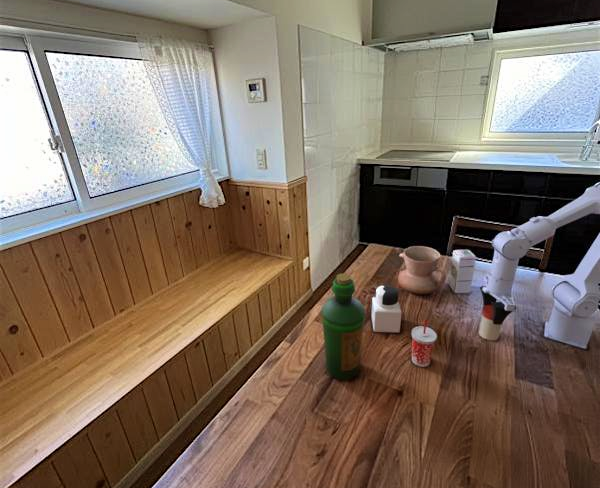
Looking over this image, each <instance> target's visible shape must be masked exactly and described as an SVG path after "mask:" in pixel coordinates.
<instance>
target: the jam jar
mask: <svg viewBox="0 0 600 488" xmlns="http://www.w3.org/2000/svg"><path fill="white" fill-rule="evenodd" d="M502 325H503V323H502V324H501V325H495V324H493V321H492V320H489V319H487V318H485V317H484V316H483V315H482V314H481V319H480V323H479V328H478V335H479V336H480V337H481V338H482V339H485V340H487V341H497V340H498V339H499V337H500V334H501V330H502Z"/></svg>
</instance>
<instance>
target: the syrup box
mask: <svg viewBox="0 0 600 488" xmlns="http://www.w3.org/2000/svg"><path fill="white" fill-rule="evenodd" d="M476 259H477V256H476V255H475V254H474V253H473V252H472V250H470V249H455V250H454V249H453V251H452V258H451V264H450V271H449V279H448V287H449V288H450V289H451V290H452V292H453V293H454V294H471V291H472V290H471V289H472V286H473V285H472V283H473V279H474V272H475V266H476V261H477V260H476Z"/></svg>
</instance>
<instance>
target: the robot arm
mask: <svg viewBox="0 0 600 488" xmlns="http://www.w3.org/2000/svg"><path fill="white" fill-rule="evenodd" d="M591 214H596V215H600V181H599V182H597V183H595V184H594V185H592V186H590V187H588V188H586V190H585V191H584V193H583V194H582V195H580V196H579V197H578V198H576V199H574V200H572V201H571V202H569V203H567V204H566V205H564V206H562V207H561V208H559V209H558V210H556V211H555V212H553V213H551V214H549V215H548V216H540V215H538V216H536V217H535V216H533V217H530V219H529V221H527V222H525V223H523V224H521V225H519V226H517V227H516V228H512V229H511V230H510V231H509V230H507V231H501V232H499V233H498V234H497V235H495V237H494V238H493V239H491V246H492V247H493V248H494V251H493V257H492V262H491V267H490V272H489V275H484V276H483V280H482V282H483V284H485V285H481V286H480V287H479V290H480V292H481V296H482V303H483V304H482V305H483V306H485V305H492V307H493V324H495V325H501V324H502V325H503V324H504V321H505V320H506V319H507V317H508V316H509V315H510V314H511V313H513V312H514V311H516V310H517V305H516V303H515V301H514V298H513V291H512V289H513V285H514V281H515V278H516V272H517V269H518V265H519V261H520V259H521V258H523V257H524V256H525V255H526V254H527V252H528V251H530V249H531V248H532V247H533V246H535V245H537V244H540V243H541V242H543V241H545V240H547V239H549V238H551V237H553V236H554V235H555V234H556V230H557V229H559V228H561V227H563V226H565V225H568V224H569V223H572V222H574V221H576V220H579V219H581V218H583V217H585V216H588V215H591ZM599 283H600V232H599V233H598V235H597V237H596V238H595V240H594V241H593V243H592V244H591V246H590V248H589V249H588V250H587V252H586V254H585V255H584V256H583V258H582V259H581V261H580V263H579V264H578V266H577V268H576V269H575V271H574V272H573V273H571V274H565V275H563V276H562V278H561V279H560V280H559V281H558V282H556V283H555V284H554V285H553V286H552V288H551V290H550V291H551V296H552V297H553V298H554V299H553V302H554V305H553V307H552V310H551V314H550V317H549V321H545V323H544V334H543V336H544V338H547V339H550V340H554V341H557V342H559V343H564V344H566V345H570V346H572V347H573V346H574V347H577V348H579V349H584V350H587V349H588V344H589V341H590V338H591V336H592V333H593V331H594V328H595V325H596V314H594V313H596V311H597V309H598V308H599V302H600V286H599ZM483 306H482V307H483Z"/></svg>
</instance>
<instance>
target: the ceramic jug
mask: <svg viewBox="0 0 600 488" xmlns="http://www.w3.org/2000/svg"><path fill="white" fill-rule="evenodd" d="M399 258H402V259H403V261H404V263H405V267H406V268H405V269H404V270H400V271H399V273H398V276H397V282H398V284H399V286H400V287H401V288H402V289H403V290H405V291H407V292H408V293H411V294H416V295H429V294H433V293H435V292H437V291H438V290H439V289H440V288H441V286H442V285H443V284H444V283H445V282H446V279H447V271H446V270H445V268H443V267H441V266H438V264H439V262H440V258H441V253H440V252H439V251H437V249H434V248H432V247H430V246H429V247H428V246H425V245H413V246H409V247H407V248H404V250H403V252H402V253H400V254H399ZM435 272H440V273H441V278H440V277H439V276H438V275H437V274H436V273H435Z"/></svg>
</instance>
